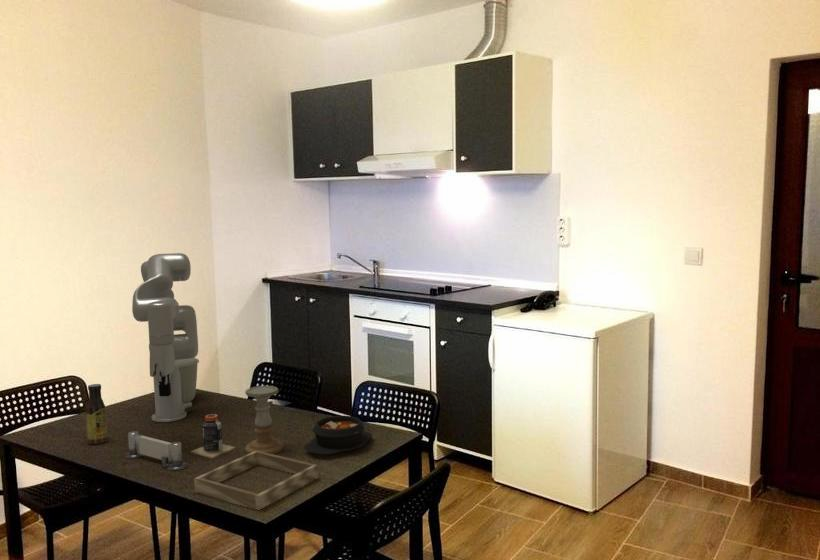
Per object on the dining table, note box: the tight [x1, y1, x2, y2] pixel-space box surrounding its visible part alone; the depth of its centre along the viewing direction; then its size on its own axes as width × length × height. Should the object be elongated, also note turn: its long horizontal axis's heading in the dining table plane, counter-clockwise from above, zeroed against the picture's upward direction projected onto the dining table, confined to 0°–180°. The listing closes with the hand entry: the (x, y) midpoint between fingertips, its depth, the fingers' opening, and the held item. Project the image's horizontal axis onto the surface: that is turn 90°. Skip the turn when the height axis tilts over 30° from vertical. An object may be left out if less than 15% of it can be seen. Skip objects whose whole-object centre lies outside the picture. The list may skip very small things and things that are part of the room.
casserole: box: [303, 415, 373, 456], centre depth 225 cm, size 25×19×8 cm
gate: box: [136, 434, 172, 463], centre depth 215 cm, size 16×2×6 cm, turn 58°
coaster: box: [190, 443, 237, 460], centre depth 224 cm, size 10×10×1 cm
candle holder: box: [244, 385, 284, 455], centre depth 223 cm, size 12×12×20 cm
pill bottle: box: [202, 413, 223, 452], centre depth 223 cm, size 6×6×11 cm
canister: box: [175, 357, 200, 403], centre depth 279 cm, size 18×18×21 cm
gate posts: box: [124, 430, 188, 472], centre depth 216 cm, size 26×6×8 cm, turn 59°
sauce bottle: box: [85, 383, 108, 445], centre depth 233 cm, size 6×6×20 cm
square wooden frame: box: [193, 451, 319, 511], centre depth 196 cm, size 24×24×4 cm
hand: (165, 395), depth 221 cm, fingers closed
